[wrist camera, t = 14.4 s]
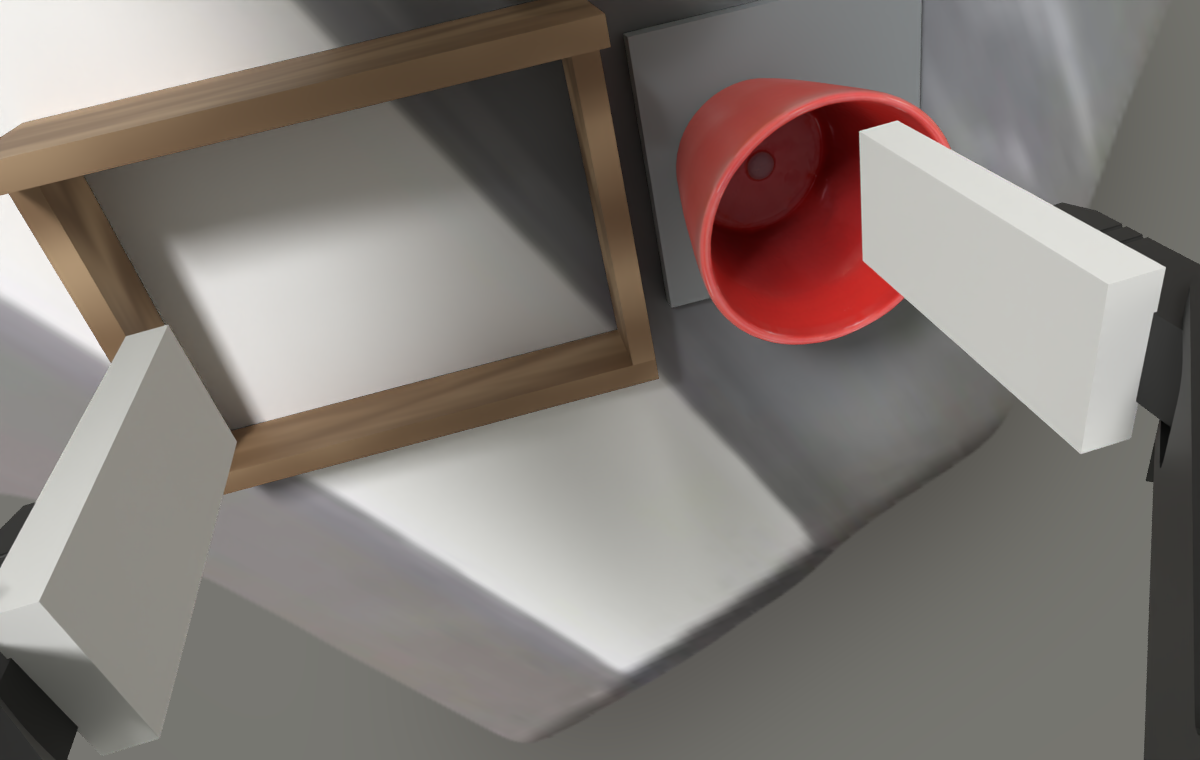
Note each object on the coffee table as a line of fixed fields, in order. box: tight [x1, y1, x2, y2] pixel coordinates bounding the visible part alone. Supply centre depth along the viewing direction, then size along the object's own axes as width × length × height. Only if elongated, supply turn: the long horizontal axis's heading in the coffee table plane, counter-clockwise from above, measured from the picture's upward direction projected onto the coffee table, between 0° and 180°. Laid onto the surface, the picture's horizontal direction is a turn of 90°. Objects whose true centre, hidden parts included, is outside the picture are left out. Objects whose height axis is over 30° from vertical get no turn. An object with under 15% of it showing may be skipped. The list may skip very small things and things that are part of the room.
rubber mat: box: [623, 0, 922, 308], centre depth 42 cm, size 14×14×1 cm
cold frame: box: [0, 0, 659, 495], centre depth 38 cm, size 18×24×7 cm
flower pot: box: [676, 78, 951, 345], centre depth 38 cm, size 11×11×10 cm
